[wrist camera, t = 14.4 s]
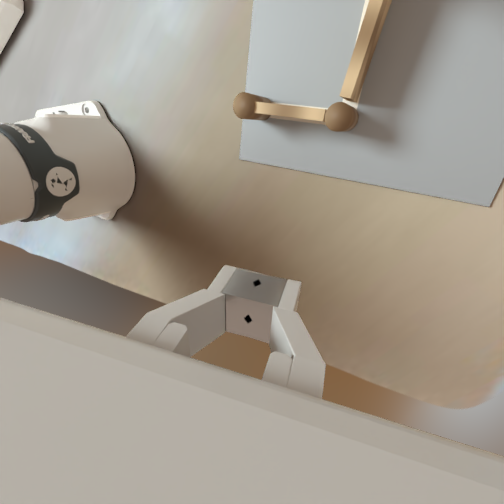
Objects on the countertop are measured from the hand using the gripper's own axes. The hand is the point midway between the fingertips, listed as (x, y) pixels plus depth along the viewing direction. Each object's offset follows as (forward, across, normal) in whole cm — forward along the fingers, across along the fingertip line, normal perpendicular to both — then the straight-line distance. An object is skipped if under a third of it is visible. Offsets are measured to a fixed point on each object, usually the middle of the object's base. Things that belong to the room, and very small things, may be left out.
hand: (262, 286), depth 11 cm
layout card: (+26, -3, -8) cm, 28 cm away
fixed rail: (+26, +3, -3) cm, 27 cm away
